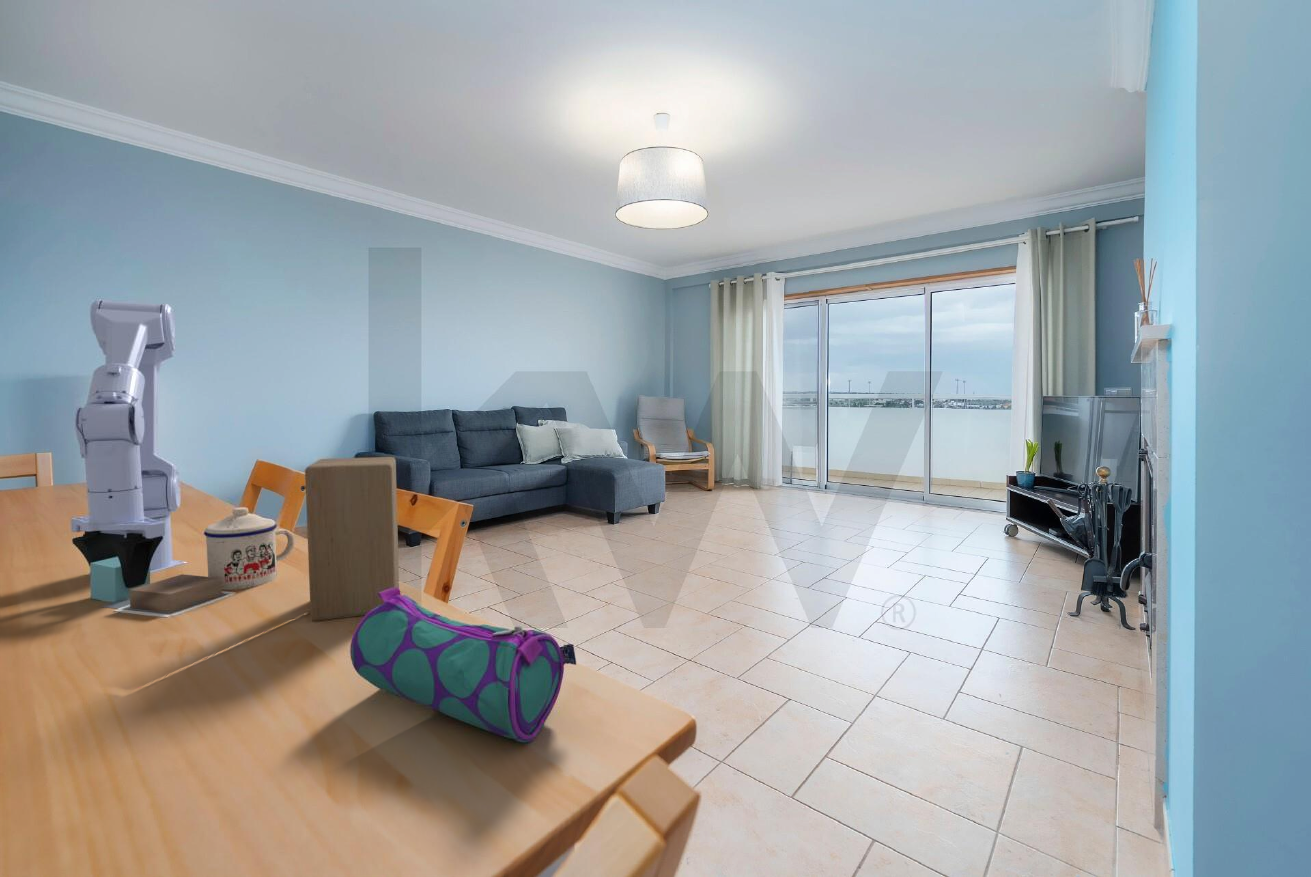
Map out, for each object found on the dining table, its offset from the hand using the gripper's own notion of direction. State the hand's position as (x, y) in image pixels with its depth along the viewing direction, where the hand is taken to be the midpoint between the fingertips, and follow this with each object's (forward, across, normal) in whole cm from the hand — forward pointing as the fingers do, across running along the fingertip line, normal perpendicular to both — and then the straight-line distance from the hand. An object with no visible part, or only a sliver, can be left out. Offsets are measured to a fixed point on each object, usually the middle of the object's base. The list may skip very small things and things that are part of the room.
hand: (121, 584), depth 84 cm
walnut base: (+2, +10, 0) cm, 10 cm away
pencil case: (+2, +62, -15) cm, 64 cm away
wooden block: (+2, +34, +6) cm, 35 cm away
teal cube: (+2, 0, 0) cm, 2 cm away
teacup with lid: (+2, +11, +11) cm, 16 cm away
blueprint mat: (+2, +8, 0) cm, 8 cm away
